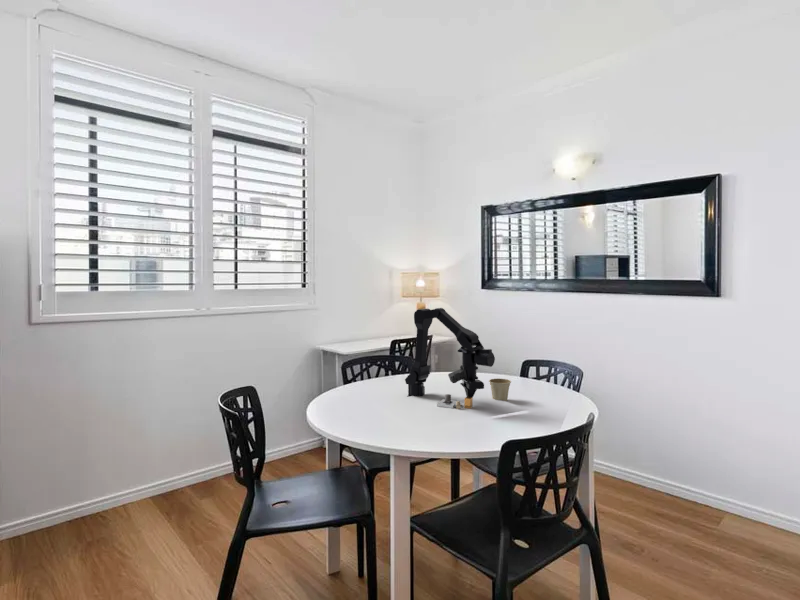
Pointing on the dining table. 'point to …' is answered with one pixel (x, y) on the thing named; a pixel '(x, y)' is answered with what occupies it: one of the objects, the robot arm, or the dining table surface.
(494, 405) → the dining table surface
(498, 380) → the flower pot
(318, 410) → the dining table surface
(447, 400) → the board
